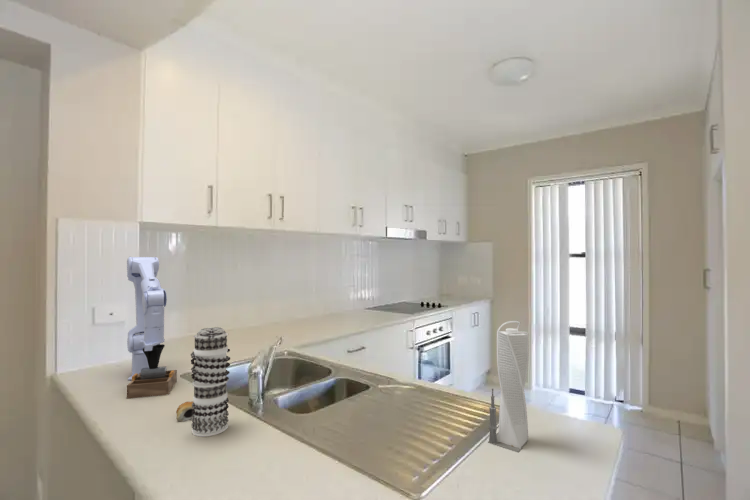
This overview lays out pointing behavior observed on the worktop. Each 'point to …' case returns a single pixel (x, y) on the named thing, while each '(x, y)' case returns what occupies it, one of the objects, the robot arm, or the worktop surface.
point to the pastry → (184, 411)
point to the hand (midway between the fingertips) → (153, 368)
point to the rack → (151, 385)
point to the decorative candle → (210, 382)
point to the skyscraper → (511, 390)
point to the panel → (153, 373)
